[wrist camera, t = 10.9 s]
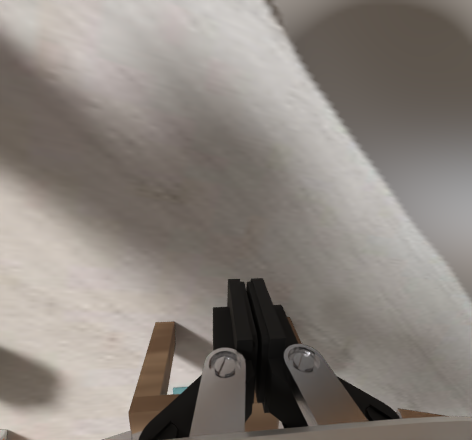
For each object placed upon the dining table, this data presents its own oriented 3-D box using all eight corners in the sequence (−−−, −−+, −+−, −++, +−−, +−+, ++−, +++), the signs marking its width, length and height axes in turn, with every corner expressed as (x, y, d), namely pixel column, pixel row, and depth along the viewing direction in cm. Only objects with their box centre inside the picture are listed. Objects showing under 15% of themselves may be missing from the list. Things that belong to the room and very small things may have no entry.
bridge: (155, 322, 28) (128, 412, 18) (289, 317, 29) (326, 398, 20) (157, 344, 28) (132, 441, 19) (287, 338, 30) (321, 425, 21)
